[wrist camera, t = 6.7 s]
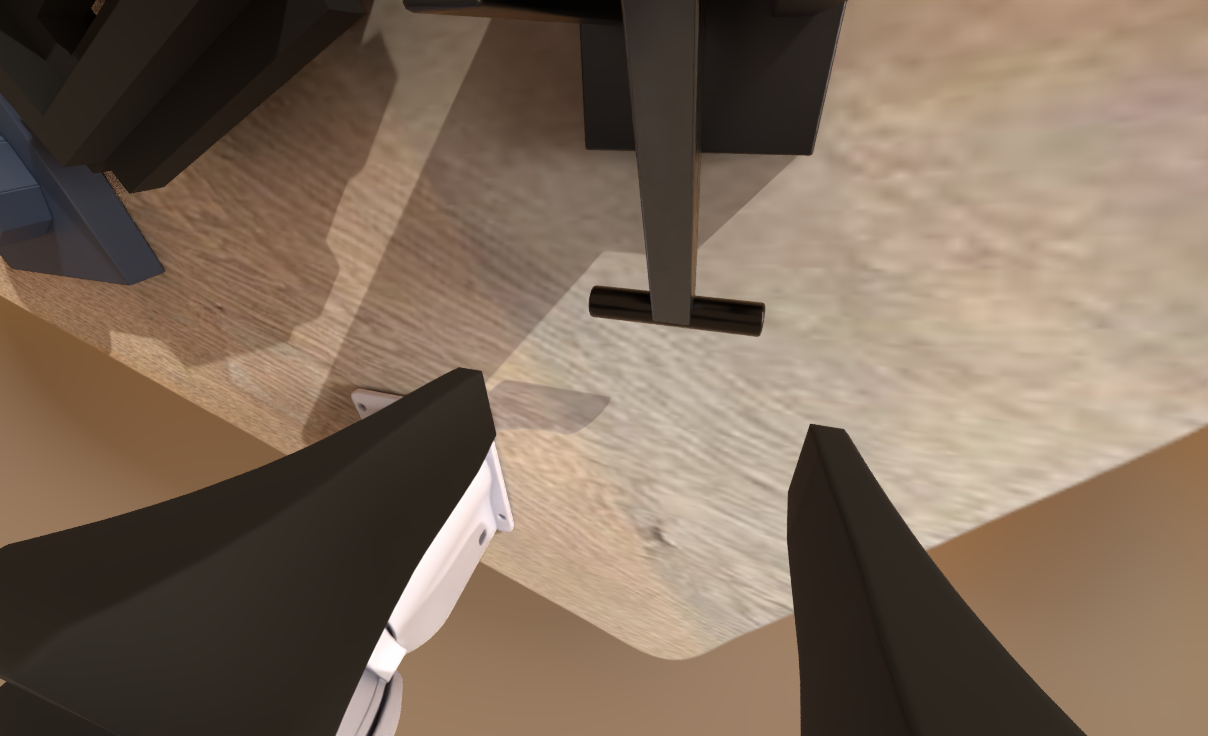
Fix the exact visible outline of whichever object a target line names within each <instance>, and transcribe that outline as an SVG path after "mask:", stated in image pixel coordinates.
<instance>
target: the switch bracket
mask: <svg viewBox="0 0 1208 736" xmlns="http://www.w3.org/2000/svg"><path fill="white" fill-rule="evenodd" d="M847 1H848V0H707V20H706V44H705V68H704V93H703V117H702V141H701V153H729V154H767V155H805V156H810V155H812V154H813V150H814V146H815V141H816V137H817V133H818V128H819V124H820V119H821V115H822V110H823V106H824V101H825V97H826V92H827V88H828V83H829V79H830V74H831V70H832V65H833V61H834V56H835V52H836V47H837V43H838V38H839V34H840V29H841V25H842V20H843V16H844V11H845V7H846V3H847ZM403 4H404V6H405V8H406V9H407V10H408V11H410V12H413V13H426V14H441V15H456V16H472V17H487V18H503V19H518V20H534V21H549V22H564V23H580V41H581V62H582V83H583V104H584V125H585V146H586V149H587V150H616V151H636V147H635V137H634V127H633V117H632V107H631V97H630V87H629V77H628V67H627V56H626V46H625V36H624V26H623V16H622V6H621V0H403Z"/></svg>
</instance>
